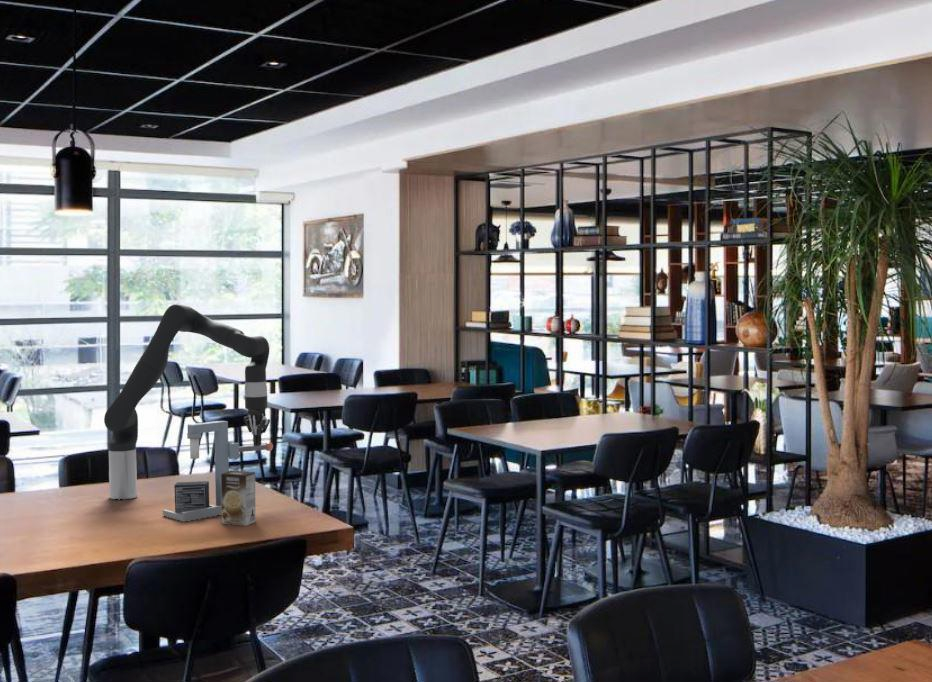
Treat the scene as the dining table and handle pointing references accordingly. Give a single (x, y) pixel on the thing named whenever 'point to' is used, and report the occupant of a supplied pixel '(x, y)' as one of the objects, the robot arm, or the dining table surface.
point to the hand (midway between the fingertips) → (257, 445)
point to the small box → (191, 496)
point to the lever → (255, 447)
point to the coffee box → (238, 498)
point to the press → (220, 465)
